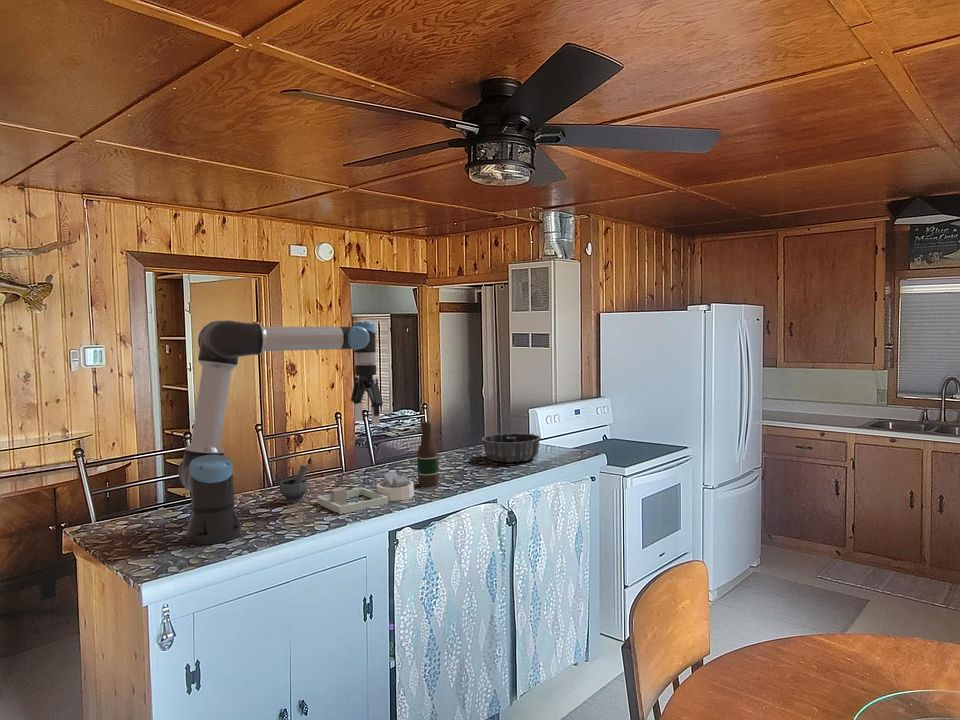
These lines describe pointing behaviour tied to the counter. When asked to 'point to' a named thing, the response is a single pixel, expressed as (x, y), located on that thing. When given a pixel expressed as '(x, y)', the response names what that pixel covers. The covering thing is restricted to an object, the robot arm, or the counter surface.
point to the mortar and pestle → (295, 487)
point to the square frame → (376, 501)
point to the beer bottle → (427, 458)
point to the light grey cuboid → (389, 479)
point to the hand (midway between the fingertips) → (366, 423)
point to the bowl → (396, 491)
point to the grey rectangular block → (400, 481)
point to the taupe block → (338, 496)
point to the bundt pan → (511, 447)
